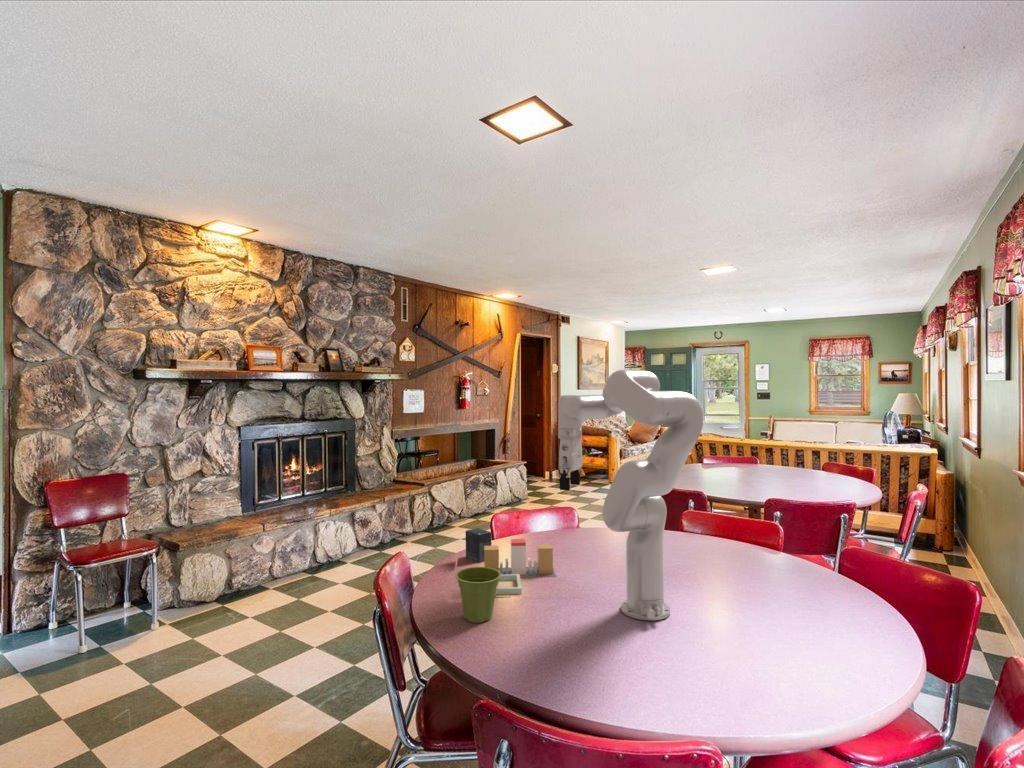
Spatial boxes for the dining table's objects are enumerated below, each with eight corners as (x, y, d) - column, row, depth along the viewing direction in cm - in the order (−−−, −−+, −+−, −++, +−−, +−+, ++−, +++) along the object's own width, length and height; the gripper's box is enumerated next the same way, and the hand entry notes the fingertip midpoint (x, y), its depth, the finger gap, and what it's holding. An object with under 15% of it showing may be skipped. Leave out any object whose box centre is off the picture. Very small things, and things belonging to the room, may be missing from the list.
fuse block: (556, 580, 165) (556, 550, 165) (482, 581, 164) (481, 552, 164) (552, 569, 175) (552, 541, 175) (482, 571, 174) (482, 543, 174)
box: (491, 562, 183) (491, 531, 183) (478, 566, 179) (478, 534, 179) (478, 557, 189) (478, 527, 189) (465, 560, 185) (465, 530, 186)
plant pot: (460, 630, 131) (459, 584, 131) (452, 611, 142) (452, 569, 143) (506, 624, 134) (506, 579, 134) (495, 606, 145) (495, 564, 146)
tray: (521, 597, 152) (521, 588, 152) (479, 598, 151) (479, 589, 151) (519, 582, 164) (519, 573, 164) (480, 583, 163) (480, 574, 163)
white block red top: (526, 574, 168) (525, 542, 168) (511, 574, 167) (511, 542, 168) (525, 569, 172) (524, 538, 172) (511, 570, 172) (510, 538, 172)
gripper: (572, 436, 161) (572, 493, 161) (589, 432, 176) (589, 483, 177) (549, 435, 164) (549, 491, 164) (568, 430, 180) (568, 481, 180)
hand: (570, 487), depth 170 cm, fingers open, 9 cm apart
